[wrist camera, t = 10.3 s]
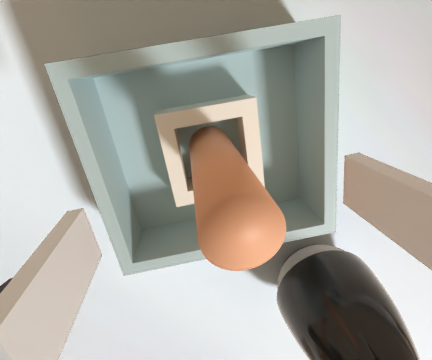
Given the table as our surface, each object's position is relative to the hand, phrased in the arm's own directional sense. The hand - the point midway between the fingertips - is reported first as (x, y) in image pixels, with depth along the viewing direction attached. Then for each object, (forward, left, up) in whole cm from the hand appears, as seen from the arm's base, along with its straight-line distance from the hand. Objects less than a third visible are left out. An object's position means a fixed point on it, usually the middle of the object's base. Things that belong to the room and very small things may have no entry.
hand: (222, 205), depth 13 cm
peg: (0, 0, -11) cm, 11 cm away
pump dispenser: (+9, -17, -12) cm, 23 cm away
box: (0, 0, -12) cm, 12 cm away
